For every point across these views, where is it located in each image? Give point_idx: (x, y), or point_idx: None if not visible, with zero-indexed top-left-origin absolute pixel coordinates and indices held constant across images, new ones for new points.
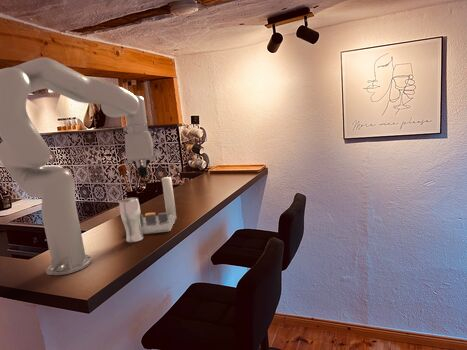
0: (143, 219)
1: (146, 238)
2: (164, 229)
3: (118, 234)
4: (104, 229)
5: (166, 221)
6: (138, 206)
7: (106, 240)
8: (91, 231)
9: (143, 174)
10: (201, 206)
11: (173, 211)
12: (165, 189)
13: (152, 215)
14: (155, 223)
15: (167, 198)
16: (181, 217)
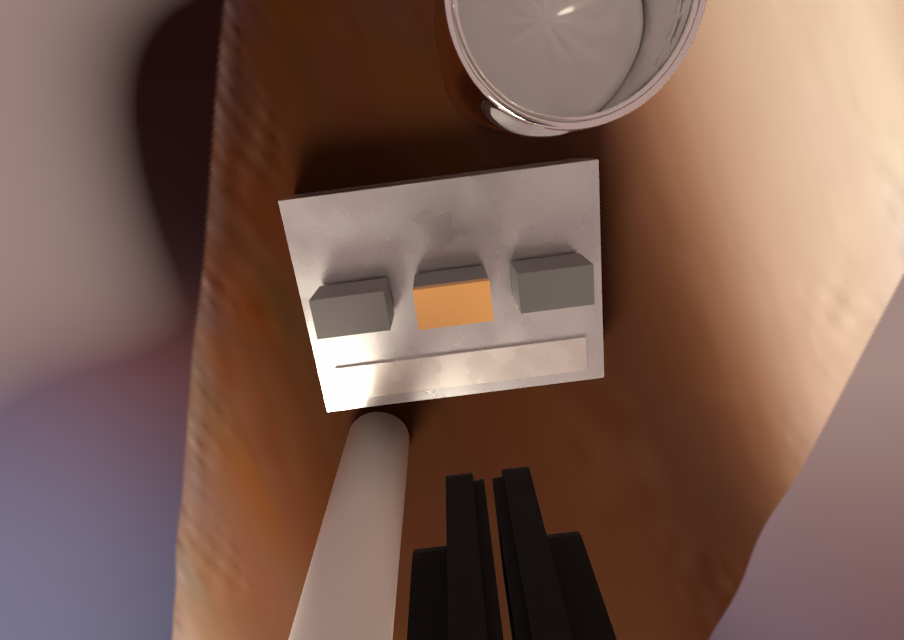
0: (514, 297)
1: (419, 74)
2: (324, 191)
3: (665, 193)
4: (801, 310)
5: (323, 265)
6: (436, 1)
7: (717, 78)
8: (885, 284)
9: (465, 512)
10: (266, 632)
11: (344, 455)
12: (350, 584)
13: (428, 285)
14: (396, 231)
15: (356, 515)
16: (322, 458)
